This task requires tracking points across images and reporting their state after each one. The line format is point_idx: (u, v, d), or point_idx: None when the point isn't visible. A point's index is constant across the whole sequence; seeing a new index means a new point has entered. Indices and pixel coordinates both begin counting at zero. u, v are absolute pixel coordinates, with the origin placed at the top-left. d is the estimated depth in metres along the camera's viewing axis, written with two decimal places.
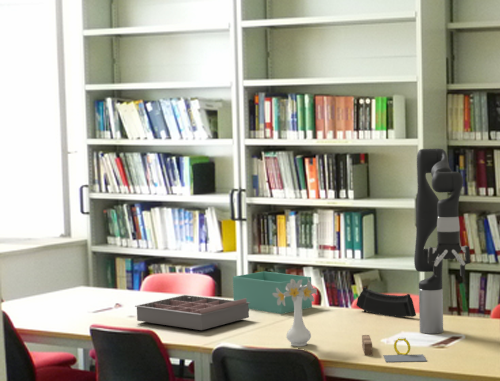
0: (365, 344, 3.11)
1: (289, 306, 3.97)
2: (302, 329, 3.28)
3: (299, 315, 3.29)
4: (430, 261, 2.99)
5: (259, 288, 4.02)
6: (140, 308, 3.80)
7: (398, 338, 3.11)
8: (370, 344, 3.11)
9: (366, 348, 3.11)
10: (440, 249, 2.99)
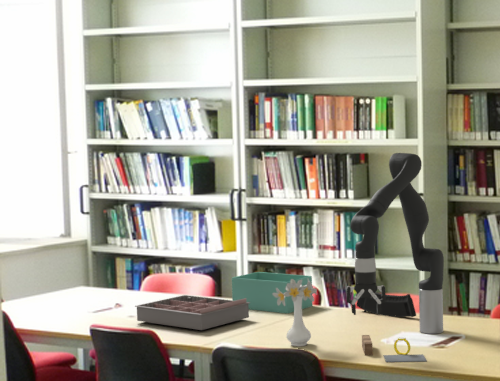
0: (365, 344, 3.11)
1: None
2: (302, 329, 3.28)
3: (299, 315, 3.29)
4: (348, 300, 3.16)
5: (263, 288, 4.01)
6: (140, 308, 3.80)
7: (398, 338, 3.11)
8: (370, 344, 3.11)
9: (366, 348, 3.11)
10: (358, 289, 3.16)
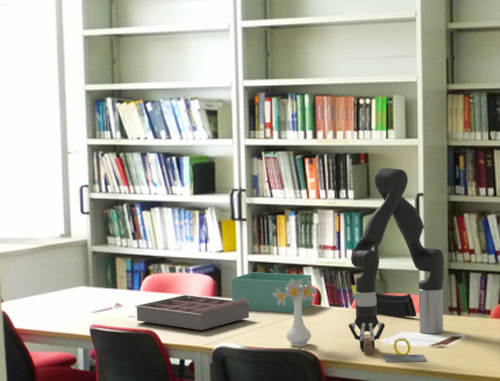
0: (365, 344, 3.11)
1: None
2: (302, 329, 3.28)
3: (299, 315, 3.29)
4: (356, 336, 3.17)
5: (266, 288, 4.01)
6: (140, 308, 3.80)
7: (398, 338, 3.11)
8: (370, 344, 3.11)
9: (366, 348, 3.11)
10: (358, 322, 3.17)
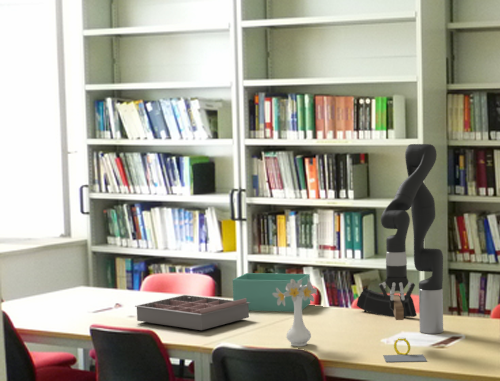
0: (396, 309, 3.16)
1: (302, 303, 4.02)
2: (302, 329, 3.28)
3: (299, 315, 3.29)
4: (386, 296, 3.22)
5: (270, 288, 4.01)
6: (140, 308, 3.80)
7: (398, 338, 3.11)
8: (401, 309, 3.16)
9: (397, 313, 3.16)
10: (389, 282, 3.22)
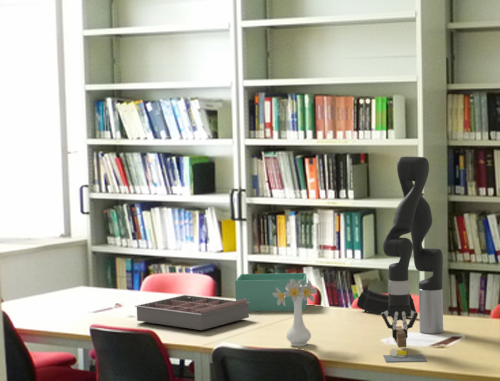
0: (399, 335, 3.09)
1: (305, 302, 4.05)
2: (302, 329, 3.28)
3: (299, 315, 3.29)
4: (388, 325, 3.15)
5: (275, 288, 4.01)
6: (140, 308, 3.80)
7: None
8: (404, 335, 3.09)
9: (400, 339, 3.09)
10: (391, 311, 3.15)
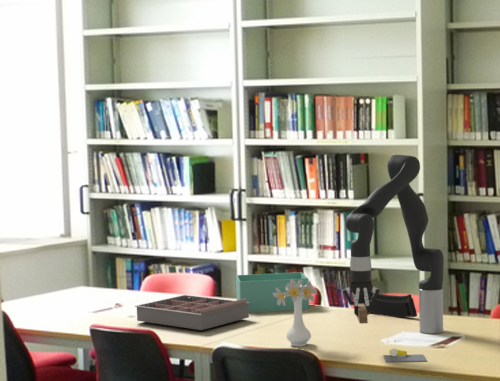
0: (360, 311, 3.08)
1: None
2: (302, 329, 3.28)
3: (299, 315, 3.29)
4: (350, 301, 3.14)
5: (279, 288, 4.01)
6: (140, 308, 3.80)
7: None
8: (365, 311, 3.08)
9: (361, 315, 3.08)
10: (353, 287, 3.14)
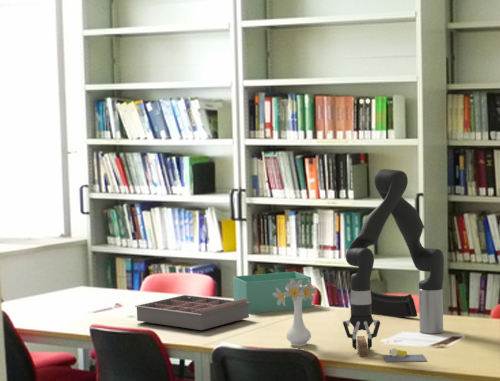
0: (360, 345, 3.09)
1: None
2: (302, 329, 3.28)
3: (299, 315, 3.29)
4: (348, 334, 3.15)
5: (284, 287, 4.02)
6: (140, 308, 3.80)
7: None
8: (365, 345, 3.09)
9: (361, 349, 3.09)
10: (353, 321, 3.15)
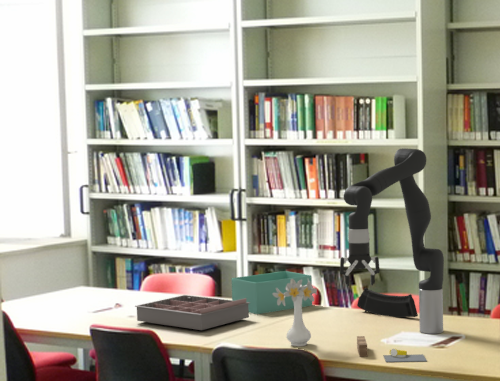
0: (360, 345, 3.09)
1: None
2: (302, 329, 3.28)
3: (299, 315, 3.29)
4: (341, 271, 3.16)
5: None
6: (140, 308, 3.80)
7: None
8: (365, 345, 3.09)
9: (361, 349, 3.09)
10: (351, 260, 3.16)
